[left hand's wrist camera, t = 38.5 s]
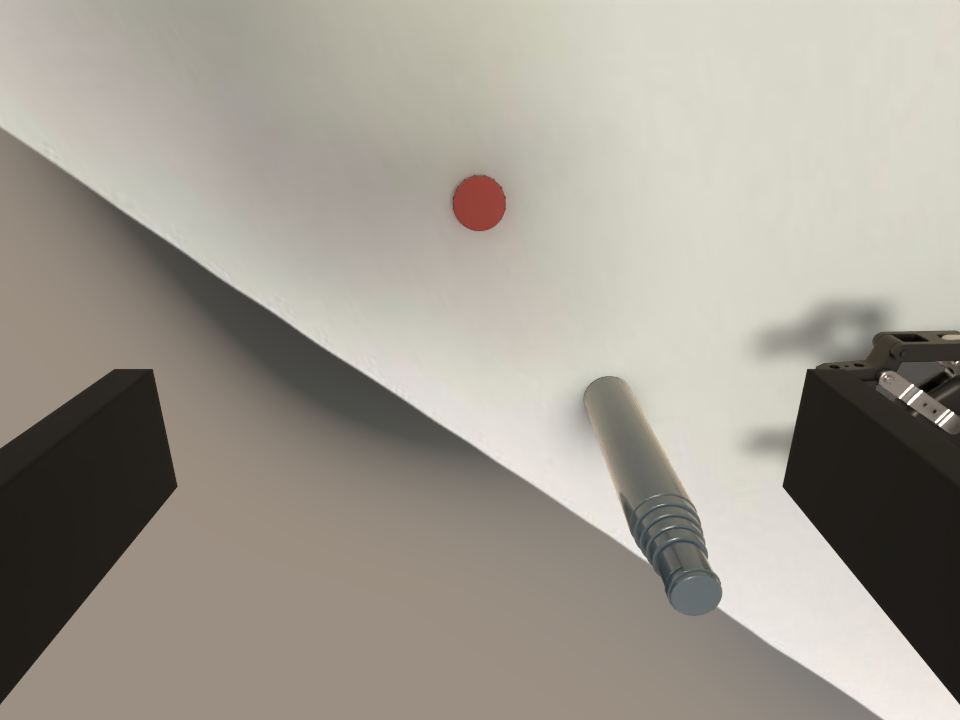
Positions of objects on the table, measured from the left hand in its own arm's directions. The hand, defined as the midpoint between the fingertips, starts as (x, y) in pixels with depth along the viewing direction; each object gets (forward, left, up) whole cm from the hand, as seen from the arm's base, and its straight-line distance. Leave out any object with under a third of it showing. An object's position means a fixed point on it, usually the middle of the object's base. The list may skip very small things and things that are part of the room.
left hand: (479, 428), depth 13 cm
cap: (0, 0, -35) cm, 35 cm away
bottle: (+18, -7, -36) cm, 41 cm away
